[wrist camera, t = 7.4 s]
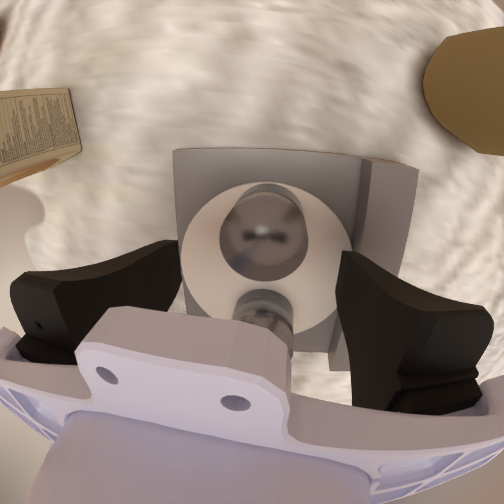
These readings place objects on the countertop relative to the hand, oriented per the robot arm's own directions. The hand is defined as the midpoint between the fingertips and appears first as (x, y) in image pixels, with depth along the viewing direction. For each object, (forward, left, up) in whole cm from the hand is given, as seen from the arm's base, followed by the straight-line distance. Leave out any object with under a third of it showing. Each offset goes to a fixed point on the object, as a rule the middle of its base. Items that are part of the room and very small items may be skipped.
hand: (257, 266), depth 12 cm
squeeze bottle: (+11, -13, -8) cm, 19 cm away
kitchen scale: (-4, -1, -8) cm, 8 cm away
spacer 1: (0, 0, -6) cm, 6 cm away
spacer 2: (-7, 0, -6) cm, 9 cm away
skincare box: (+8, +18, -8) cm, 21 cm away
